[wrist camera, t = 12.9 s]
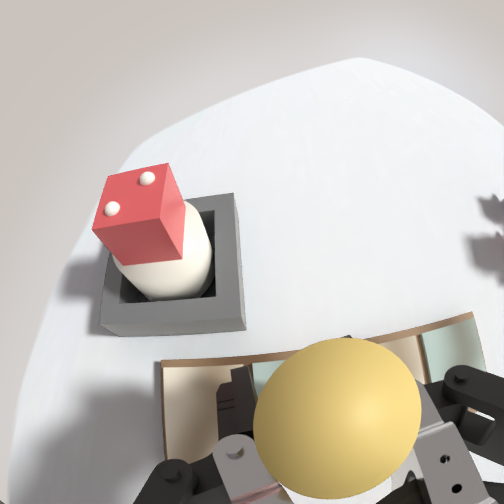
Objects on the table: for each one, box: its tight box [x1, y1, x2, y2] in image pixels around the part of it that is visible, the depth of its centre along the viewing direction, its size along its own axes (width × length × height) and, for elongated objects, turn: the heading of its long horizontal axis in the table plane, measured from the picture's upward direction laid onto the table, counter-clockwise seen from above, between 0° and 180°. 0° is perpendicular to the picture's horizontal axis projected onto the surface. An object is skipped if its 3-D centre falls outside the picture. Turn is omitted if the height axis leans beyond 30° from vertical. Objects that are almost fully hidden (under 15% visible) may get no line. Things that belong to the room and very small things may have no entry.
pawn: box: [253, 338, 421, 499], centre depth 9 cm, size 5×5×10 cm
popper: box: [92, 163, 215, 302], centre depth 18 cm, size 6×6×9 cm
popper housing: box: [99, 193, 246, 336], centre depth 21 cm, size 10×10×3 cm
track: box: [161, 311, 487, 464], centre depth 16 cm, size 24×8×1 cm, turn 94°
